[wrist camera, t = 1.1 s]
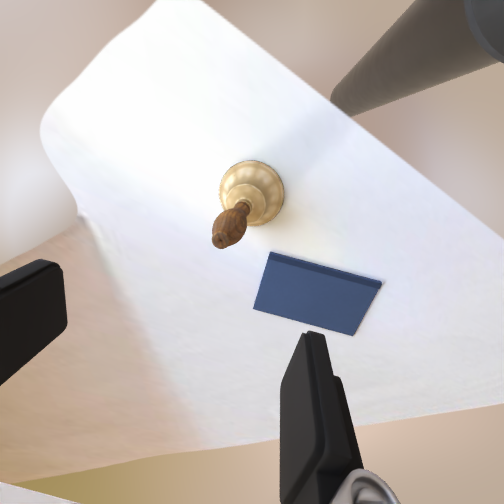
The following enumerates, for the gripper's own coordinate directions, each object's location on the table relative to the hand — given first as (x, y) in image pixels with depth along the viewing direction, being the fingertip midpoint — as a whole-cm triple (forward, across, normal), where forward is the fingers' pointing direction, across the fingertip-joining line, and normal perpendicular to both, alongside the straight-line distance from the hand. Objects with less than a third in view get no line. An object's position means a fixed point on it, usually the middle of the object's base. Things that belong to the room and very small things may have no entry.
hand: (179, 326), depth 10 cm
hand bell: (+25, 0, 0) cm, 25 cm away
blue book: (+25, -12, +12) cm, 30 cm away
